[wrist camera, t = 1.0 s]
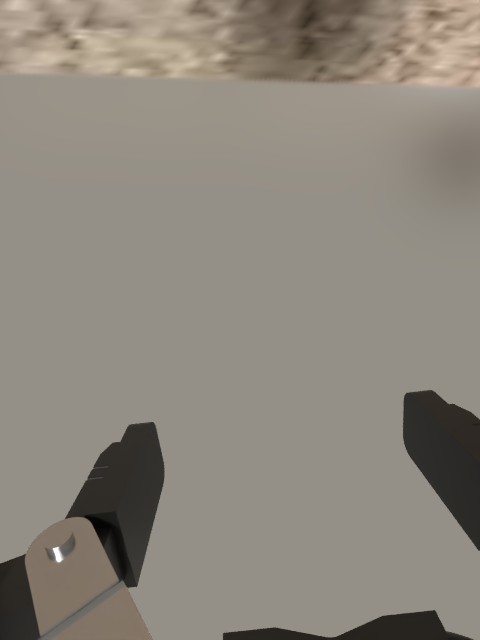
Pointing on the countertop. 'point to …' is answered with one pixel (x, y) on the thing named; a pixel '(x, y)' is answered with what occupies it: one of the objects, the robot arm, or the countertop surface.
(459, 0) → the countertop surface
